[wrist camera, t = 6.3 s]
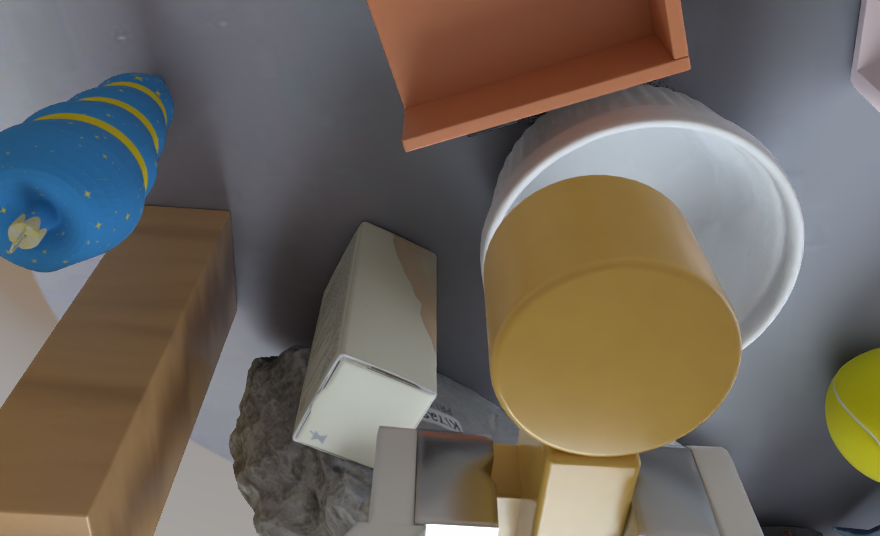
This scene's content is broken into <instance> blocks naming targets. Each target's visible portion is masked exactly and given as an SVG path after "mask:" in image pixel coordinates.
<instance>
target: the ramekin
mask: <svg viewBox="0 0 880 536" xmlns="http://www.w3.org/2000/svg"><path fill="white" fill-rule="evenodd" d="M587 175H610V176H618V177H624V178H628V179H632V180H635V181H638V182H641V183H643V184H646V185H648V186H650V187H652V188H654V189H655V190H657V191H659V192H661V193H662V194H663V195H665V196H666V197H667V198H668V199H670V200H671V201H672V202H673V203H674V204H675V205H676V206H677V207H678V208H679V209H680V211H681V212H682V214H683V215H684V217H685V218H686V219H687V221H688V223H689V225H690V227H691V229H692V231H693V233H694V235H695V236H696V238H697V240H698V242H699V244H700V246H701V248H702V250H703V252H704V254H705V256H706V257H707V259H708V261H709V263H710V265H711V267H712V269H713V271H714V273H715V275H716V277H717V279H718V280H719V282H720V284H721V286H722V288H723V290H724V292H725V294H726V296H727V298H728V300H729V301H730V303H731V305H732V307H733V309H734V312H735V314H736V316H737V318H738V321H739V325H740V328H741V334H742V350H743V349H744V348H746V347H747V346H748V345H749V344H751V343H752V342H753V341H754V340H755V339H756V338H757V337H758V336H760V335H761V334H762V332H763V331H764V330H765V329H766V328H767V327H768V326H769V325H770V324H771V323H772V321H773V320H774V319H775V318H776V316H777V315H778V314H779V312H780V310H781V309H782V308H783V306H784V305H785V303H786V301H787V299H788V297H789V296H790V294H791V291H792V289H793V287H794V285H795V282H796V280H797V277H798V274H799V271H800V267H801V263H802V258H803V250H804V220H803V216H802V211H801V206H800V203H799V200H798V197H797V195H796V192H795V190H794V188H793V186H792V184H791V182H790V180H789V178H788V176H787V175H786V173H785V172H784V170H783V169H782V167H781V166H780V164H779V163H778V161H777V160H776V159H775V157H774V156H773V155H772V153H771V152H770V151H769V150H768V149H767V148H766V147H765V146H764V145H763V144H762V143H761V142H760V141H759V140H757V139H756V138H755V137H754V136H753V135H752V134H750V133H749V132H747V131H746V130H744V129H743V128H741V127H739V126H738V125H736V124H735V123H733V122H731V121H729V120H726V119H724V118H722V117H721V116H719V115H718V114H717V113H715V112H714V111H712V110H711V109H709V108H708V107H707V106H705V105H704V104H703V103H701V102H700V101H698V100H694V99H691V98H690V97H689V96H687V95H686V94H683V93H681V92H674V91H672V90H670V89H668V88H665V87H653V86H651V85H648V84H644V85H636V86H633V87H629V88H626V89H622V90H619V91H615V92H612V93H609V94H605V95H602V96H598V97H595V98H591V99H588V100H584V101H581V102H578V103H574V104H571V105H567V106H564V107H560V108H557V109H553V110H550V111H548V112H547V113H546V114H545V115H543V116H541V117H539V118H538V119H537V120H536V121H535V123H534V124H533V125H532V126H530V127H529V128H527V129H526V130H525V131H524V133H523V135H522V137H521V138H520V139H519V140H518V141H517V142H516V143H515V144H514V147H513V150H512V151H511V153H510V154H509V155H508V156H507V158H506V160H505V163H504V167H503V168H502V170H501V171H500V173H499V177H498V180H497V185H496V187H495V190H494V194H493V199H492V204H491V207H490V209H489V212H488V214H487V217H486V220H485V223H484V227H483V231H482V237H481V246H480V264H481V273H482V281H483V287H484V279H483V272H484V261H485V256H486V252H487V249H488V246H489V243H490V241H491V239H492V237H493V235H494V233H495V231H496V229H497V228H498V226H499V225H500V224H501V222H502V221H503V219H504V218H505V217H506V216H507V215H508V214H509V213H510V212H511V211H512V209H514V208H515V207H516V206H517V205H518V204H519V203H521V202H522V201H523V200H524V199H525V198H527V197H528V196H530V195H532V194H533V193H535V192H536V191H538V190H540V189H542V188H544V187H546V186H548V185H550V184H553V183H556V182H559V181H561V180H565V179H569V178H573V177H578V176H587Z"/></svg>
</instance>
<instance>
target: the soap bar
mask: <svg viewBox="0 0 880 536" xmlns="http://www.w3.org/2000/svg"><path fill="white" fill-rule="evenodd" d="M850 81H851V82H852V84H853V86H854V87H855V89H856V90H857V91H858V92H859V93H860V94H861V95H862V96H863V97H864V98H866V99H867V100H868V101H869V102H870V103H871V104H872V105H873V106H874V107H875V108H876V109H877V110H878V111H879V112H880V0H862V1H861V8H860V15H859V22H858V29H857V36H856V43H855V50H854V57H853V64H852V71H851V78H850Z"/></svg>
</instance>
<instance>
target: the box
mask: <svg viewBox="0 0 880 536" xmlns="http://www.w3.org/2000/svg"><path fill="white" fill-rule="evenodd" d="M436 377H437V257H436V254H434V253H432V252H430V251H428V250H426V249H424V248H422V247H420V246H418V245H416V244H414V243H412V242H410V241H408V240H406V239H403V238H401V237H399V236H397V235H395V234H393V233H390V232H388V231H386V230H384V229H381V228H379V227H377V226H375V225H372V224H370V223H368V222H362V223H361V224H360V226H359V228H358V229H357V231H356V233H355V234H354V236H353V238H352V239H351V241H350V243H349V245H348V247H347V248H346V250H345V252H344V254H343V256H342V258H341V260H340V262H339V264H338V266H337V267H336V269H335V271H334V273H333V275H332V277H331V279H330V281H329V283H328V285H327V287H326V289H325V291H324V294H323V299H322V303H321V308H320V312H319V317H318V321H317V325H316V330H315V335H314V339H313V343H312V348H311V352H310V357H309V362H308V366H307V371H306V375H305V380H304V384H303V389H302V393H301V398H300V403H299V408H298V412H297V417H296V422H295V426H294V431H293V436H292V437H293V440H294V441H296V442H299V443H302V444H304V445H307V446H310V447H313V448H315V449H318V450H321V451H323V452H326V453H329V454H331V455H334V456H337V457H339V458H342V459H345V460H350V461H354V462H356V463H358V464H361V465H364V466H367V467H369V468H372V469H374V460H375V450H376V440H377V433H378V429H379V426H389V427H400V428H410V429H416V427H417V426H418V424H419V422H420V421H421V419H422V418H423V416H424V415H425V413H426V412H427V410H428V408H429V407H430V405H431V404H432V402H433V400H434V399H435V398H436V395H437V380H436Z"/></svg>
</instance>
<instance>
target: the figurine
mask: <svg viewBox="0 0 880 536" xmlns="http://www.w3.org/2000/svg"><path fill="white" fill-rule="evenodd" d="M832 529H834V530H835V531H837V532H839V533H840V534H842V535H844V536H880V525H879V526H877V527H874V528H872V529H870V530H863V529H853V528H842V527H832Z"/></svg>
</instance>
